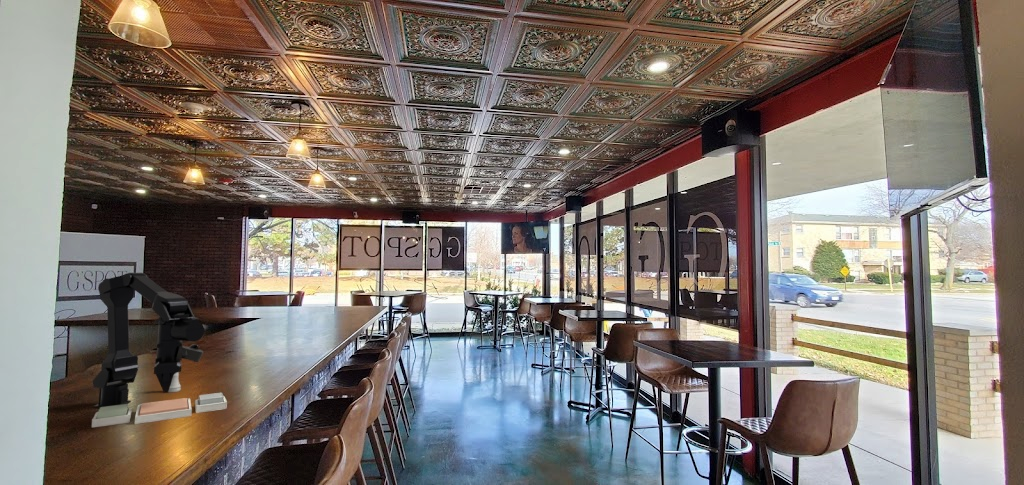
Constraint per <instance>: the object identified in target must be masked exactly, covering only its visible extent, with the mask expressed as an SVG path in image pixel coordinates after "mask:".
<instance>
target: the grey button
mask: <svg viewBox="0 0 1024 485" xmlns="http://www.w3.org/2000/svg"><path fill="white" fill-rule="evenodd" d="M223 396H224V395H223V392H216V393H215V392H214V393H209V394H208V393H205V394H199V395H198V399H199V405H206V404H213V403H221V402H223V398H224V397H223Z"/></svg>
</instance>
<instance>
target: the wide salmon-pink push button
mask: <svg viewBox="0 0 1024 485" xmlns="http://www.w3.org/2000/svg"><path fill="white" fill-rule="evenodd" d="M187 403H188V409H185V410H177V411H170V412H162V413H155V414H148V415H140V410H141V405H142V404H138V405H137V407H136V413H135V417H134V425H139V424H143V423H144V424H146V423H151V422H159V421H165V420H171V419H172V420H174V419H179V418H185V417H186V418H187V417H192V412H193V410H192V404H191V403H192V402H191V398H187Z"/></svg>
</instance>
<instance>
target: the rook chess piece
mask: <svg viewBox="0 0 1024 485" xmlns="http://www.w3.org/2000/svg"><path fill="white" fill-rule="evenodd" d="M179 373H180V372H177V373H175V374H174V375H173V378H172V382H171V385H170V388H169V391H168V392H167V393H169V394H170V393H177V392H180V391H181V390H182V388H181V387H182V385H181V384H180V380H179V376H180V374H179Z"/></svg>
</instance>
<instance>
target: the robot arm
mask: <svg viewBox="0 0 1024 485" xmlns="http://www.w3.org/2000/svg"><path fill="white" fill-rule="evenodd" d="M97 289H98V292H99V299H100V300H101V302H102V303H103V304H104V305H105V306H106V309H107V339H108V341H107V342H108V343H107V346H108V347H107V349H108V351H107V352H108V353H107V355H106V357H105V358H104V359H103V361H102V363H101V369H100V372H98V373H97V375H96V376H95V377H94V378H93V379H92V384H93V386H92V387H93V388H97V389H99V392H98V403H97V404H94V405H93V406H92V407H93V408H100V407H107V406H115V405H123V404H129V403H131V402H132V400H131V399H129V390H130V389H129V388H128V387H129V384H131V383H135V380H136V377H137V375H138V371H139V363H138V362H139V357H138V355H137V354H133V352H131V350H130V331H129V330H130V329H129V328H130V327H129V325H130V324H129V305H130V303H131V302H132V300H133V299H134V297H135V292H137V293H138V294H140V295H141V296H142V297H144V298H145V299H146V300H147V301H148V302H150V303H151V304H152V305H151V309H152V311H153V312H154V313H155V314H156V315H157V316H158V318H156V319H155V320H154V324H158V332H157V343H156V344H157V345H156V346H157V347H156V356H155V363H154V368H153V375H156V378H157V380H158V383H159V385H160V387H161V390H162V392H163V393H168V391H169V388H170V385H171V382H172V378H173V375H174V374H175V373H177V372H179V373H181V372H182V362H181V361H182V359H184V360H189V361H193V362H194V363H199V362H200V360H201V358H202V356H203V354H204V351H203V350H202V349H199V345H198V344H194V343H192V344H191V345H190V346H185V345H183V341H184V342H197V341H199V340H201V339H202V338H203V337H204V334H205V327H204V325H203V323H201V322H200V321H199V317H195V315H194V314H195V312H193V310H192V308H191V305H190V304H189V301H188V300H187V298H186V297H184V296H182V295H180V294H177V293H172V292H170V291H167V290H165V289H164V288H163V287H162V286H160V285H159V284H158V283H157V282H155V281H154V280H152V279H151V278H149V277H148V275H147V274H146V273H144V272H128V273H125V274H122V275H118V276H115V277H110V278H104V279H103V280H102V281H101V282H100V283H99V284H98V286H97Z"/></svg>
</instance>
